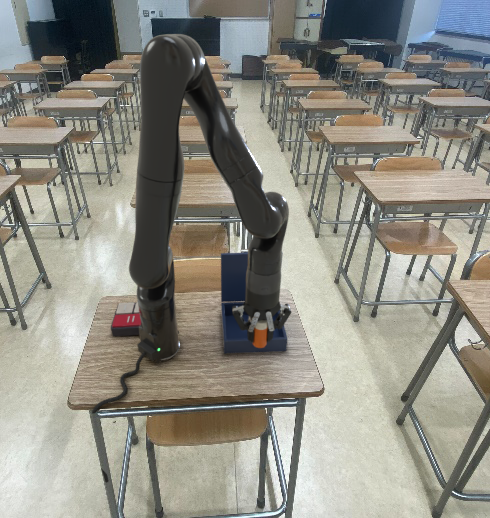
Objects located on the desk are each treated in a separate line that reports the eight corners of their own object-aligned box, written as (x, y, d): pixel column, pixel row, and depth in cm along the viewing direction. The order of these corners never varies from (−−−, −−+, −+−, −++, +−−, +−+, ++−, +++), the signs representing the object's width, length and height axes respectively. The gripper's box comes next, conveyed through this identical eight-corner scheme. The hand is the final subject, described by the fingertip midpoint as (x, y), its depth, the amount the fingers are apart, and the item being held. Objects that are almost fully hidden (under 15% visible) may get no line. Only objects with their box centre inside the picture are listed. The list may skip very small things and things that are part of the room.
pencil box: (285, 353, 106) (287, 339, 103) (223, 355, 105) (223, 341, 102) (276, 314, 119) (277, 300, 116) (221, 316, 118) (221, 302, 115)
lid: (282, 253, 106) (279, 242, 111) (220, 254, 106) (220, 244, 110) (278, 300, 115) (275, 288, 120) (221, 302, 115) (220, 290, 119)
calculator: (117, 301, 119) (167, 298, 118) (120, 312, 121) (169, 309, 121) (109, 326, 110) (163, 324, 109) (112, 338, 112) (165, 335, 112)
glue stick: (261, 350, 94) (263, 325, 90) (249, 343, 96) (250, 319, 91) (269, 342, 96) (271, 317, 92) (257, 335, 98) (259, 311, 94)
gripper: (231, 295, 83) (231, 352, 92) (299, 292, 83) (292, 350, 92) (229, 273, 89) (229, 330, 98) (292, 271, 89) (286, 327, 99)
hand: (259, 339), depth 95 cm, fingers closed on glue stick, 3 cm apart
